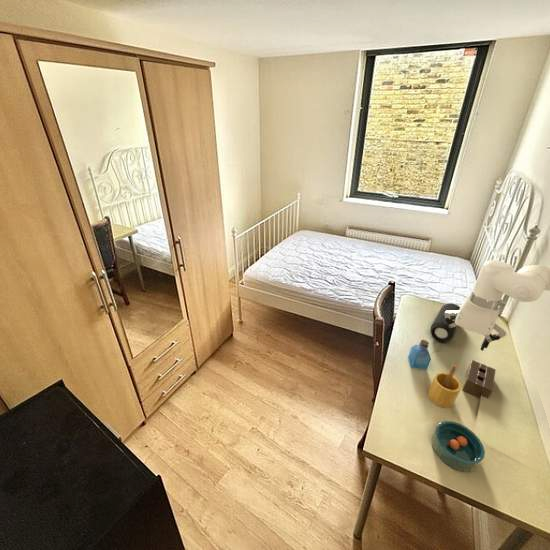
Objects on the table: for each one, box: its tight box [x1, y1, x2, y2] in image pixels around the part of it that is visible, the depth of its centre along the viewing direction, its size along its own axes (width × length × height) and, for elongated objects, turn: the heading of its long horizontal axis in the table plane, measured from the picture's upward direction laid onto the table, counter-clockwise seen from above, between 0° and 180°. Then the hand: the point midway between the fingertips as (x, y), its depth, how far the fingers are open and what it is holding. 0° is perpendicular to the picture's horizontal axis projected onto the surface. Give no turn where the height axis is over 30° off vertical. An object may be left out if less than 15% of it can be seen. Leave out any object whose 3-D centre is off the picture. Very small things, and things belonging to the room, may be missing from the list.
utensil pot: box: [427, 371, 463, 409], centre depth 109 cm, size 9×9×9 cm
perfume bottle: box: [407, 339, 432, 370], centre depth 124 cm, size 6×6×12 cm
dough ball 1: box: [449, 439, 460, 450], centre depth 94 cm, size 3×3×3 cm
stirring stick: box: [443, 363, 458, 388], centre depth 108 cm, size 1×1×16 cm
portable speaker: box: [429, 302, 461, 343], centre depth 145 cm, size 26×10×10 cm, turn 141°
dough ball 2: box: [457, 436, 468, 447], centre depth 95 cm, size 3×3×3 cm
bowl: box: [431, 420, 486, 473], centre depth 93 cm, size 14×14×5 cm
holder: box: [461, 359, 497, 400], centre depth 116 cm, size 8×13×6 cm, turn 142°
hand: (465, 341), depth 98 cm, fingers open, 9 cm apart
